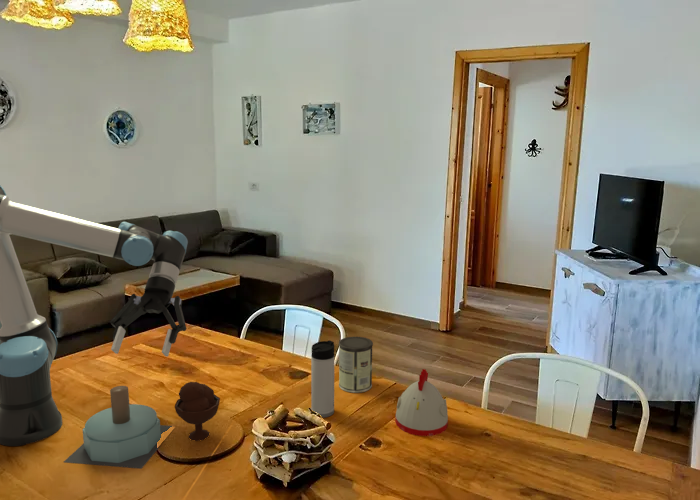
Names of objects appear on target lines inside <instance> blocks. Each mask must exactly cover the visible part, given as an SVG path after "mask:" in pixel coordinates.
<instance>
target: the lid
mask: <svg viewBox="0 0 700 500" xmlns="http://www.w3.org/2000/svg"><path fill="white" fill-rule="evenodd" d="M109 393H110V406H111V407H109V408H106V409H102V410H100V411H98V412H97V413H95V414H93V415H92V416H90V417H89V418H88V419H87V420H86V422H85V423H84V424H85V425H84V427H83V428H82V438H83V443H84V448H85V450H86V452H87V454H88V455H89V457H90V459H91V460H92V461H101V462H114V463H120V462H123V461H126V460H129V459H132V458H135V457H138V456H141V455H144V454H147V453H149V452H150V451H151V449H152V448H153V447H154V446H155V445H156V443H157V442H158V441H159V440H160V438H161V431H160V425H161V420H160V419H159V417H158V416H157V411H156V410H155V409H154V408H152V407H150V406H148V405H144V404H136V403H135V404H134V403H133V404H131V403H130V396H129V393H130V392H129V387H128V386H126V385H118V386H114V387H112V388H110V390H109Z"/></svg>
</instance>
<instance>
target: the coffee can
mask: <svg viewBox="0 0 700 500" xmlns="http://www.w3.org/2000/svg"><path fill="white" fill-rule="evenodd" d="M373 345H374V342H373V341H372V340H371V339H370V338H367V337H363V336H348V337H344V338H341V339H339V341H338V346H339V349H338V350H339V351H338V358H339V359H338V360H339V361H338V364H339V366H338V372H339V374H338V375H339V377H338V380H339V381H338V387H339V388H340V389H341V390H342V391H344V392H347V393H352V394H353V393H354V394H359V393H364V392H367V391H369V390H371V389H372V388H373V384H372V383H373V381H372V380H373Z"/></svg>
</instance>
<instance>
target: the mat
mask: <svg viewBox="0 0 700 500" xmlns="http://www.w3.org/2000/svg"><path fill="white" fill-rule="evenodd" d="M172 426H173V425H165V424H164V425H162V424H160V431H161V434H162V433H163V432H165V431H167V430H168V429H169V428H170V427H172ZM158 449H159V448H157V443H156V445H155V446H154V447H153V448H152V449H151V451H150V452H149V453H147V454H144V455H141V456H138V457H135V458H132V459H129V460H126V461H123V462H120V463H114V462H101V461H92V460H91V459H90V457H89V455H88V454H87V452H86V450H85V448H84V442H83V443H82V444H81V445H80V446H79V447H78V448H77V449H76V450H74V452H72V453H71V454H70V455H69V456H68V457H67V458H66V459H65V460H64V461H63V463H66V464H68V463H69V464H79V465H81V464H82V465H92V466H102V467H104V466H105V467H117V468H130V469H143V468H144V467H145V465H146V464H147V463H148V461H149V460H150V459H151V458H152V457H153V456H154V454H155V453H157V451H158Z"/></svg>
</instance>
